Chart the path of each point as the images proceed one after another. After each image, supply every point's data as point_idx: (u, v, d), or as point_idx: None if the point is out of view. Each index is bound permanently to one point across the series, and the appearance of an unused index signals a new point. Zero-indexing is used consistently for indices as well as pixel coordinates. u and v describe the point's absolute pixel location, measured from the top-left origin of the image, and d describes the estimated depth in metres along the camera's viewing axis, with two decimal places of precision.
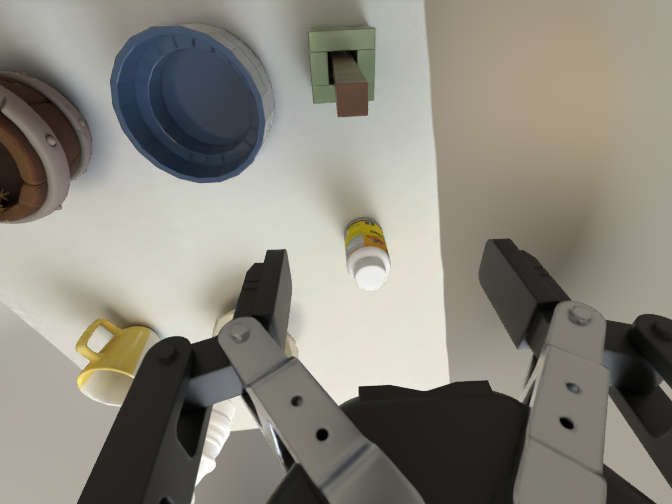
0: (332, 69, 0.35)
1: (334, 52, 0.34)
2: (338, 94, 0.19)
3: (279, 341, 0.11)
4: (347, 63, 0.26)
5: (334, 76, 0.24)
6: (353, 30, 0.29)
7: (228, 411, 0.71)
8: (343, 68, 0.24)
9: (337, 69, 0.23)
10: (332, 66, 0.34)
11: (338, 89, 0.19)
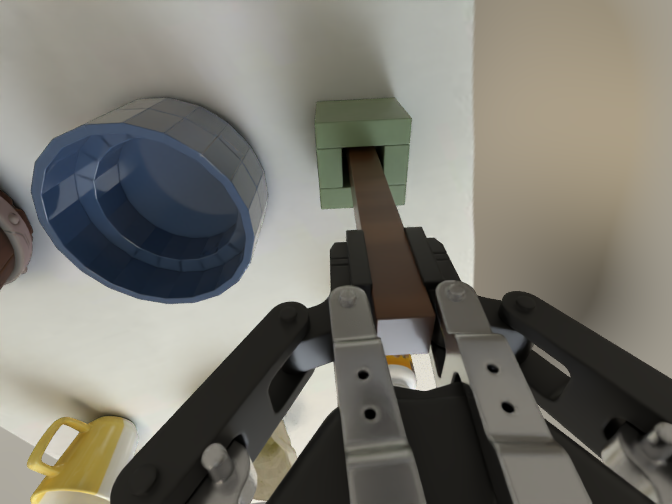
0: None
1: None
2: (378, 330, 0.10)
3: None
4: (375, 188, 0.17)
5: (358, 221, 0.15)
6: (380, 121, 0.20)
7: None
8: (373, 214, 0.15)
9: (364, 219, 0.15)
10: (346, 152, 0.25)
11: (379, 325, 0.10)
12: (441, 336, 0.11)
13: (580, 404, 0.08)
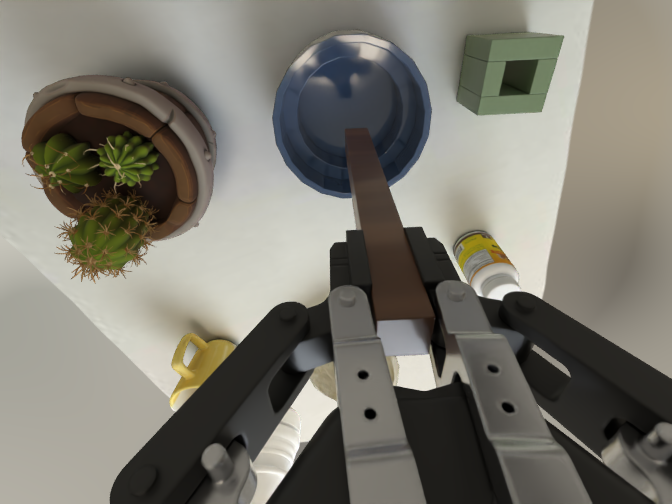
0: None
1: (349, 135, 0.25)
2: (378, 331, 0.10)
3: None
4: (375, 188, 0.17)
5: (358, 222, 0.15)
6: (540, 38, 0.27)
7: (297, 424, 0.69)
8: (373, 215, 0.15)
9: (364, 220, 0.15)
10: (346, 152, 0.25)
11: (378, 326, 0.10)
12: (441, 336, 0.11)
13: (580, 404, 0.08)
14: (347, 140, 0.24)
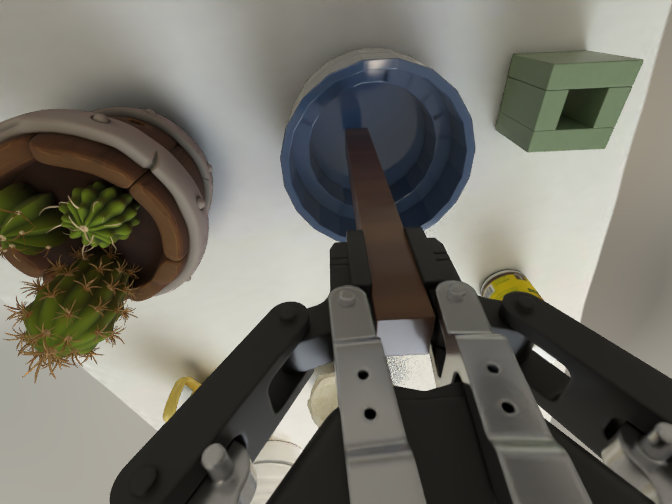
0: None
1: (349, 135, 0.25)
2: (378, 331, 0.10)
3: None
4: (375, 188, 0.17)
5: (358, 222, 0.16)
6: (614, 63, 0.22)
7: None
8: (373, 215, 0.15)
9: (364, 219, 0.15)
10: (346, 152, 0.25)
11: (379, 326, 0.10)
12: (441, 336, 0.11)
13: (580, 404, 0.08)
14: (347, 140, 0.24)
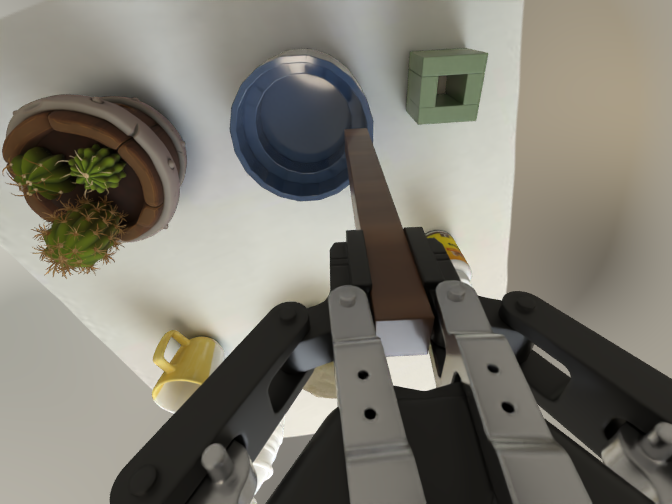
0: (345, 152, 0.27)
1: (349, 135, 0.25)
2: (377, 332, 0.10)
3: None
4: (375, 189, 0.17)
5: (357, 222, 0.16)
6: (467, 55, 0.30)
7: None
8: (373, 215, 0.15)
9: (364, 220, 0.15)
10: None
11: (378, 326, 0.10)
12: (441, 336, 0.11)
13: (580, 404, 0.08)
14: (347, 140, 0.24)
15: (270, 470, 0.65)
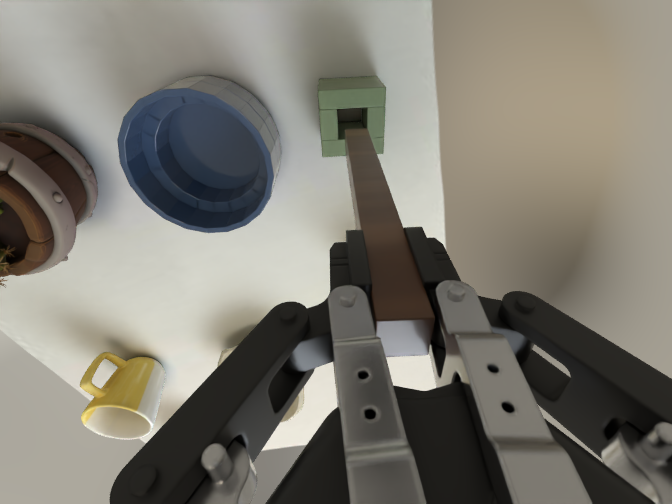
0: None
1: (349, 136, 0.25)
2: (378, 332, 0.10)
3: None
4: (375, 189, 0.17)
5: (358, 222, 0.16)
6: (363, 89, 0.29)
7: None
8: (373, 216, 0.15)
9: (364, 220, 0.15)
10: (346, 153, 0.25)
11: (378, 327, 0.10)
12: (441, 336, 0.11)
13: (580, 404, 0.08)
14: (347, 140, 0.24)
15: None
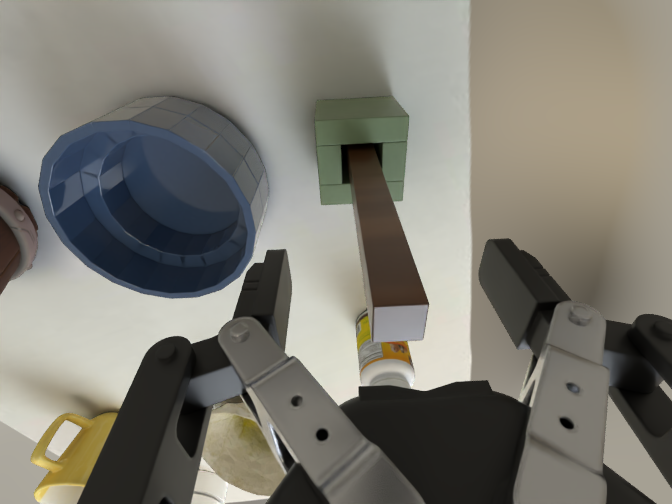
0: None
1: None
2: (375, 318, 0.11)
3: (279, 341, 0.11)
4: (374, 185, 0.18)
5: (357, 217, 0.16)
6: (378, 119, 0.21)
7: (219, 491, 0.63)
8: (371, 210, 0.16)
9: (363, 214, 0.15)
10: (346, 151, 0.26)
11: (375, 312, 0.11)
12: None
13: None
14: None
15: None
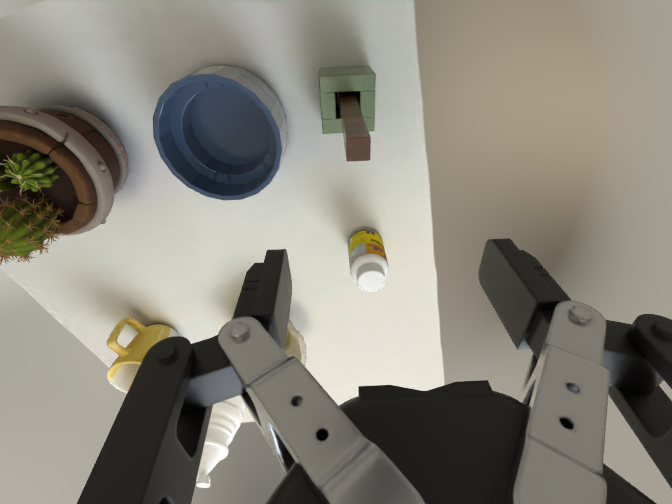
0: None
1: None
2: (347, 145, 0.25)
3: (279, 341, 0.11)
4: (353, 108, 0.32)
5: None
6: (357, 75, 0.35)
7: (239, 403, 0.77)
8: (350, 116, 0.30)
9: (345, 117, 0.29)
10: None
11: (347, 141, 0.25)
12: None
13: None
14: (339, 92, 0.38)
15: (225, 449, 0.70)
